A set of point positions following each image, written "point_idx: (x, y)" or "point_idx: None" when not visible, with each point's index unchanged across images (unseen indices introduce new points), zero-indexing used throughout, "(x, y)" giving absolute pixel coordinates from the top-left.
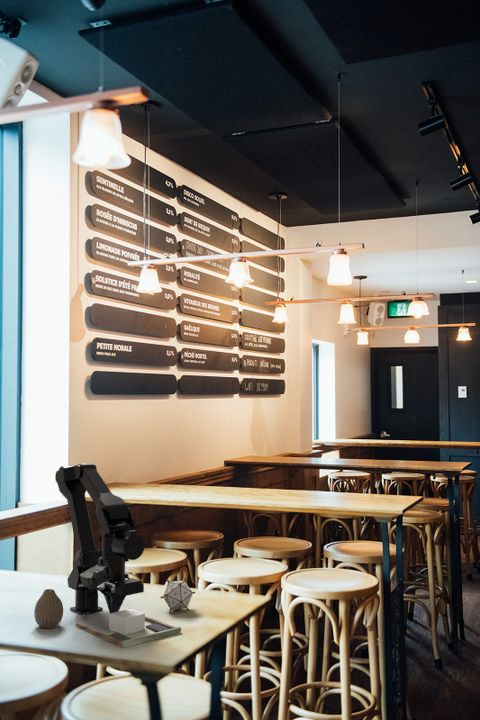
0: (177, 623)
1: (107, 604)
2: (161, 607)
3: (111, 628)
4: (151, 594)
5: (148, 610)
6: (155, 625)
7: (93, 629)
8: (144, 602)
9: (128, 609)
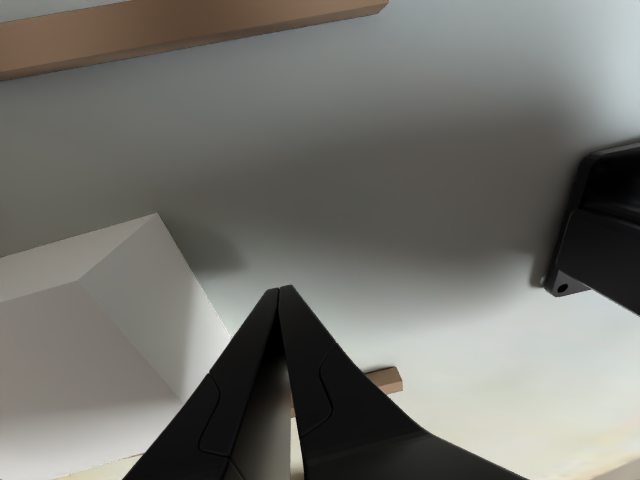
0: None
1: (320, 337)
2: None
3: (131, 223)
4: (546, 455)
5: None
6: None
7: (58, 43)
8: (491, 431)
9: None
